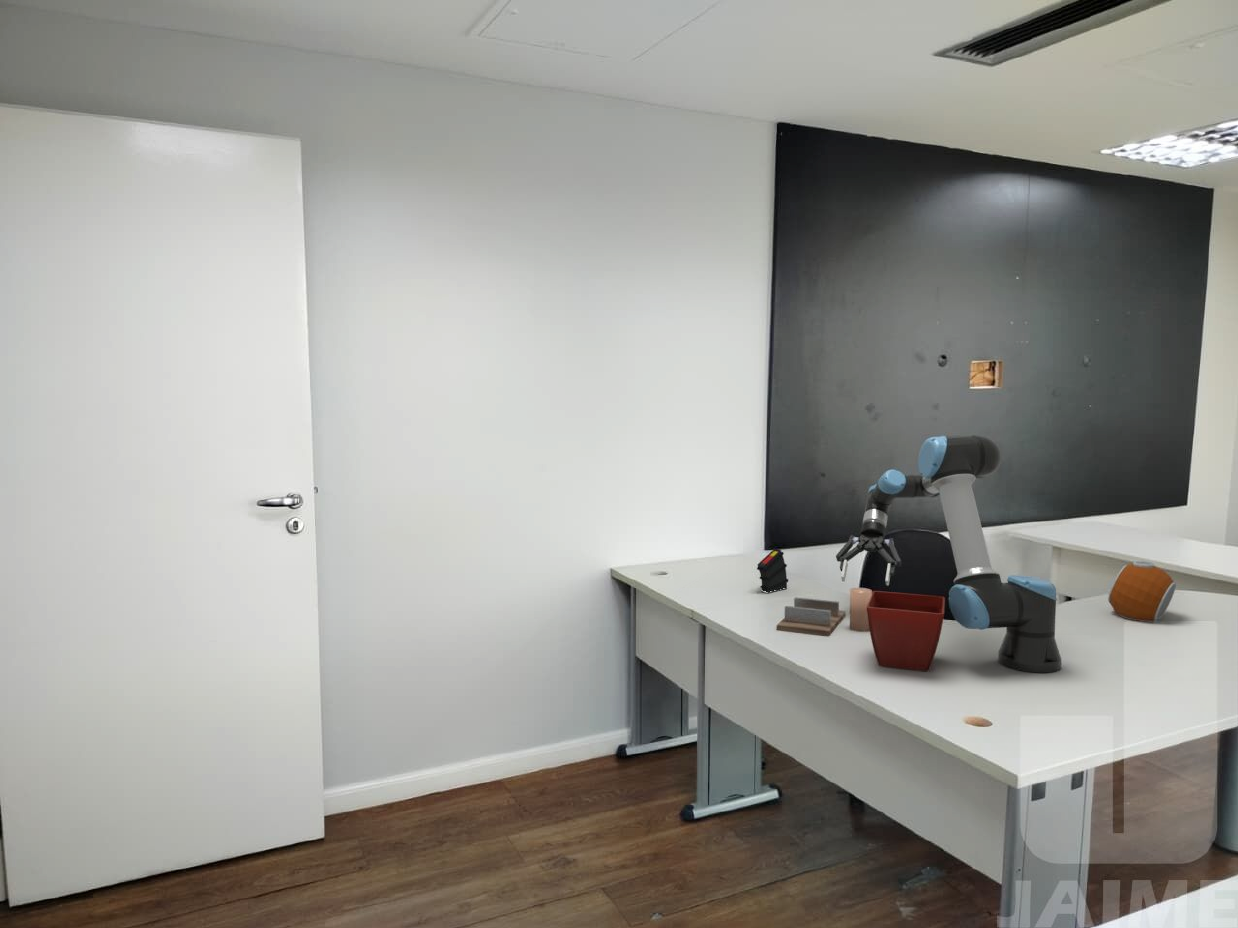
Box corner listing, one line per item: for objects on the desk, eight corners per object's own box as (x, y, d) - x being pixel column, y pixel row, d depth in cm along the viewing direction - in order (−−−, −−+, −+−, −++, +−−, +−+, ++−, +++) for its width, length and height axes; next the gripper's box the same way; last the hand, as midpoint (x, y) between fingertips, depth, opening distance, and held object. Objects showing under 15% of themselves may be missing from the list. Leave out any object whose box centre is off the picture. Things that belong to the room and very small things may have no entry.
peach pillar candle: (869, 632, 256) (869, 593, 255) (847, 629, 259) (848, 591, 258) (873, 626, 262) (873, 588, 261) (852, 624, 265) (852, 586, 264)
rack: (828, 636, 253) (829, 616, 253) (776, 629, 260) (776, 610, 260) (845, 616, 275) (845, 597, 274) (796, 610, 282) (796, 593, 281)
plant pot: (944, 655, 234) (945, 595, 233) (942, 677, 217) (943, 613, 215) (872, 648, 242) (873, 590, 240) (865, 669, 224) (865, 606, 222)
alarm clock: (1118, 605, 282) (1120, 554, 281) (1180, 615, 270) (1182, 561, 268) (1100, 617, 269) (1102, 563, 267) (1164, 627, 257) (1167, 571, 255)
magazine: (793, 583, 313) (782, 549, 308) (772, 603, 306) (760, 569, 301) (785, 581, 316) (774, 547, 311) (764, 601, 309) (752, 568, 304)
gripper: (914, 535, 276) (907, 591, 264) (837, 530, 287) (826, 583, 275) (912, 522, 271) (904, 578, 259) (834, 517, 282) (823, 571, 270)
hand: (864, 581), depth 267 cm, fingers open, 13 cm apart
